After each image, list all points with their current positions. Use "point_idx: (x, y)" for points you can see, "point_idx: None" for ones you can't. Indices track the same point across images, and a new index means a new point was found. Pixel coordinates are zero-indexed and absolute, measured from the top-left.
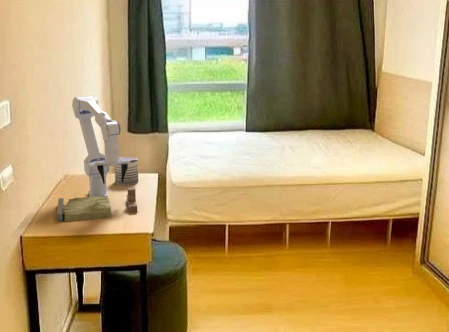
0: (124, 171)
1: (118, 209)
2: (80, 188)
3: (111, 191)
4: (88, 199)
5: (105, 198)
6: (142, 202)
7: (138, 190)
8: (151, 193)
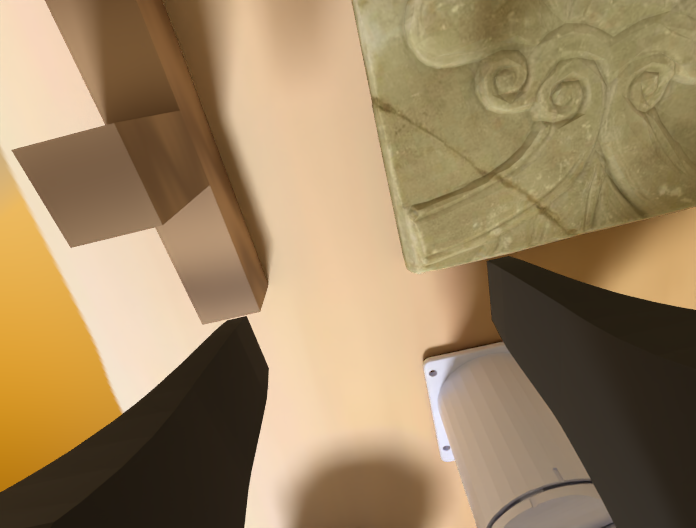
0: (92, 449)
1: (284, 56)
2: None
3: (411, 446)
4: (591, 165)
5: (431, 209)
6: (131, 253)
7: None
8: None
